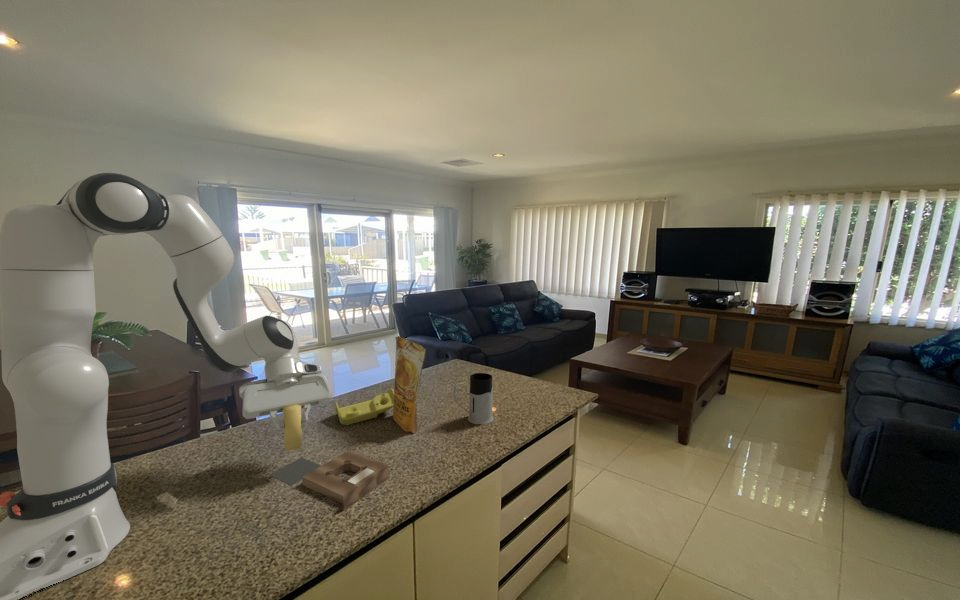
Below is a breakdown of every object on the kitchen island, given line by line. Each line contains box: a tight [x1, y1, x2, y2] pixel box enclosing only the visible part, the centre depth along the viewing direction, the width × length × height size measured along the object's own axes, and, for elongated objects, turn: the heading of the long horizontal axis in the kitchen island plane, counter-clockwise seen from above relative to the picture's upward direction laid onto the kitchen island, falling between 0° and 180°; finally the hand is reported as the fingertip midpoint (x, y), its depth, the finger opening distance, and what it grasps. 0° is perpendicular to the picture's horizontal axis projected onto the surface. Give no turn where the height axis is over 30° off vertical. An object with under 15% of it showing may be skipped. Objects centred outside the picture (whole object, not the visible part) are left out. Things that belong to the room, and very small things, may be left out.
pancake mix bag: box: [392, 335, 427, 434], centre depth 123 cm, size 7×19×28 cm, turn 33°
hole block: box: [301, 450, 390, 511], centre depth 91 cm, size 14×14×4 cm
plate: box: [268, 457, 322, 487], centre depth 95 cm, size 9×9×2 cm
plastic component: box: [334, 388, 394, 426], centre depth 131 cm, size 20×7×10 cm
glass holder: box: [453, 372, 494, 425], centre depth 126 cm, size 9×14×15 cm, turn 115°
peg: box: [282, 404, 303, 451], centre depth 93 cm, size 4×4×10 cm
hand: (293, 425), depth 92 cm, fingers closed on peg, 4 cm apart
